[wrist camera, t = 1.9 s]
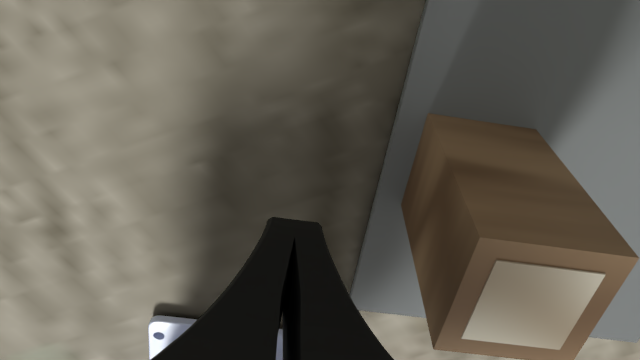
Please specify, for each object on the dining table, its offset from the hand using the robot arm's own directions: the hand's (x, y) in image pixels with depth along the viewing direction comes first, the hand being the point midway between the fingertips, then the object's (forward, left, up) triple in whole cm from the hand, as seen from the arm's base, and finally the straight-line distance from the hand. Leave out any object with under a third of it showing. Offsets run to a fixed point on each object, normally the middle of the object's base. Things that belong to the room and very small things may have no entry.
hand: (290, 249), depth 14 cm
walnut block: (0, -6, -6) cm, 9 cm away
